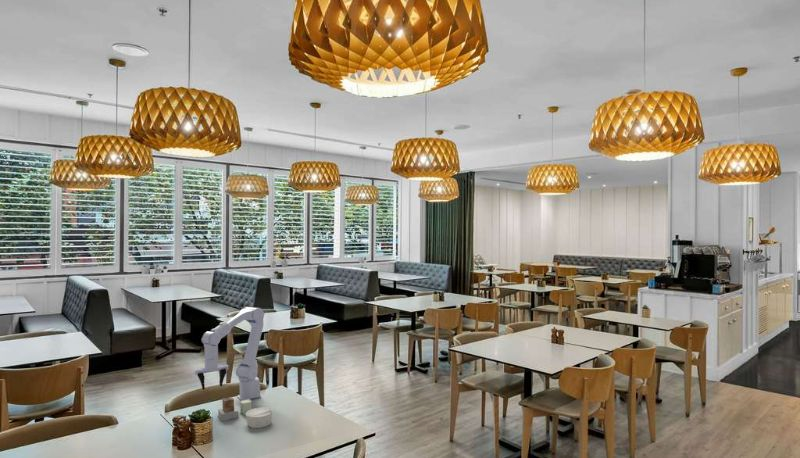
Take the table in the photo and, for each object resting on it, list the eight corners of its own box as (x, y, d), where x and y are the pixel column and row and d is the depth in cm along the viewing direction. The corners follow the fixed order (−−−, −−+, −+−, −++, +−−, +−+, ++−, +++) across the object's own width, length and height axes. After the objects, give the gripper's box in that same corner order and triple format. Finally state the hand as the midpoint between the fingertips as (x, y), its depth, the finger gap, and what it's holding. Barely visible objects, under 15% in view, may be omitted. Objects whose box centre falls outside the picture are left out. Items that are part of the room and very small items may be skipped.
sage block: (249, 410, 226) (249, 399, 226) (251, 412, 222) (251, 401, 222) (240, 412, 223) (240, 401, 223) (242, 414, 220) (242, 403, 220)
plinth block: (234, 412, 223) (234, 406, 223) (238, 417, 217) (238, 410, 217) (218, 416, 219) (218, 409, 219) (222, 421, 213) (222, 414, 213)
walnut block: (231, 407, 220) (231, 396, 220) (234, 410, 217) (233, 399, 217) (222, 409, 218) (222, 398, 218) (224, 412, 215) (224, 401, 215)
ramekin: (265, 430, 202) (265, 417, 202) (240, 428, 205) (240, 416, 205) (277, 419, 213) (277, 407, 213) (253, 418, 216) (253, 406, 216)
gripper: (196, 362, 219) (197, 393, 219) (229, 357, 227) (230, 386, 227) (193, 359, 225) (194, 388, 225) (226, 354, 233) (226, 382, 233)
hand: (212, 387), depth 227 cm, fingers open, 7 cm apart
